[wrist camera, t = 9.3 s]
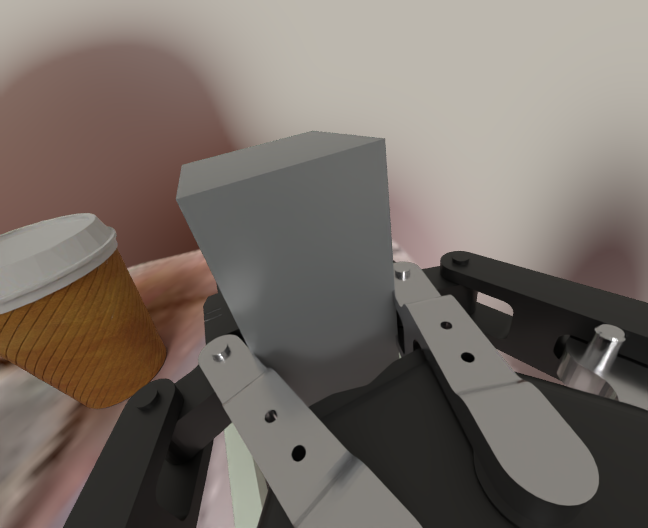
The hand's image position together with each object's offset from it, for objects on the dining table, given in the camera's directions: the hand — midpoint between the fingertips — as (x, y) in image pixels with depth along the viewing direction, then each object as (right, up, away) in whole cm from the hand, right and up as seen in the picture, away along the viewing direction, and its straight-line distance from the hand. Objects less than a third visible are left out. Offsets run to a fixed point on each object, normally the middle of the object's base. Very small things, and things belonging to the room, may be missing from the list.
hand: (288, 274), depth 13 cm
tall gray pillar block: (+2, -7, +1) cm, 7 cm away
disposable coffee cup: (-14, -8, +10) cm, 20 cm away
